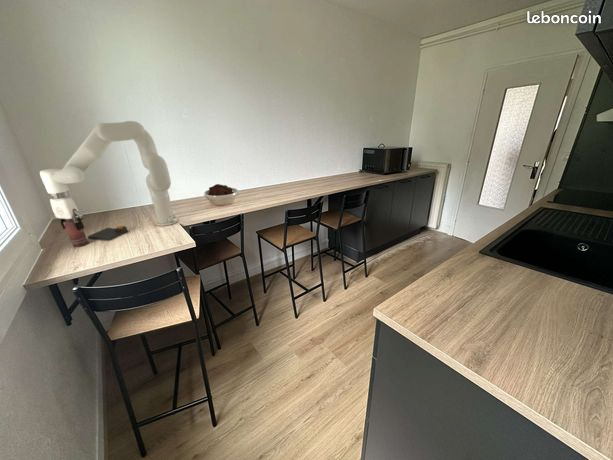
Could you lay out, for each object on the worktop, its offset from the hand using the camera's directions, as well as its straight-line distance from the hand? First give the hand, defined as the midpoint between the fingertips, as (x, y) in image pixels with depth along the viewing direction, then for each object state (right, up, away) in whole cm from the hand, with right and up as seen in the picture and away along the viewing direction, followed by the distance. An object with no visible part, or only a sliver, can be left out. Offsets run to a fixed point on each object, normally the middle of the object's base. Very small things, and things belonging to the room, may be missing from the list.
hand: (73, 228), depth 128 cm
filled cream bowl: (+54, +20, +68) cm, 89 cm away
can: (0, -9, +4) cm, 10 cm away
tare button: (+12, 0, +16) cm, 20 cm away
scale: (+6, -4, +15) cm, 16 cm away
